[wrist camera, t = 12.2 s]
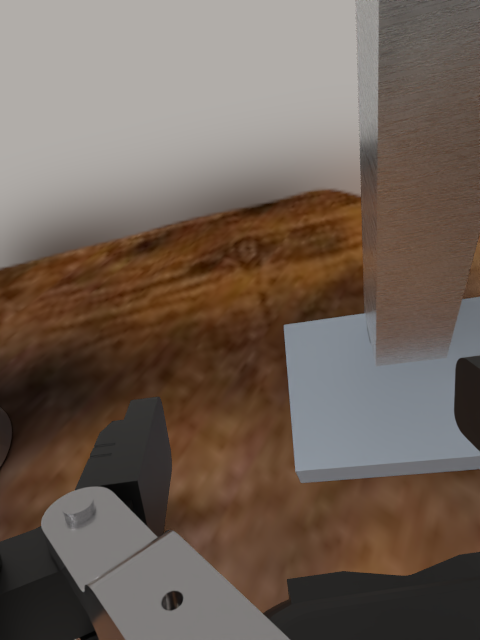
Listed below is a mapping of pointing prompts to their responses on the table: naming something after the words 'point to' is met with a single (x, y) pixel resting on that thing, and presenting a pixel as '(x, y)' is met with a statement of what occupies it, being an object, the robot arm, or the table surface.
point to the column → (417, 169)
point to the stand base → (374, 403)
